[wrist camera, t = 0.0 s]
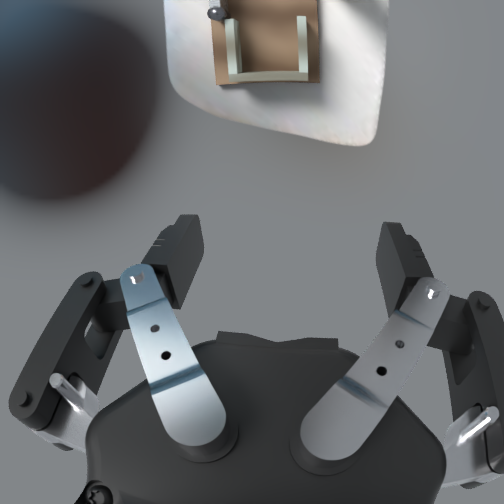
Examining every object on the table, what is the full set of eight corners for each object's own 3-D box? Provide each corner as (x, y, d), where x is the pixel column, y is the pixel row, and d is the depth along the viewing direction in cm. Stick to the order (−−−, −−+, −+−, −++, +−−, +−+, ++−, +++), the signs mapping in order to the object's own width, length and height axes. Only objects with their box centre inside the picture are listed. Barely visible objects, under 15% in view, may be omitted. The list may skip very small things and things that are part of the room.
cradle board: (208, -46, 23) (198, -56, 20) (311, -53, 21) (312, -64, 18) (218, 84, 35) (208, 88, 32) (319, 82, 33) (321, 85, 30)
